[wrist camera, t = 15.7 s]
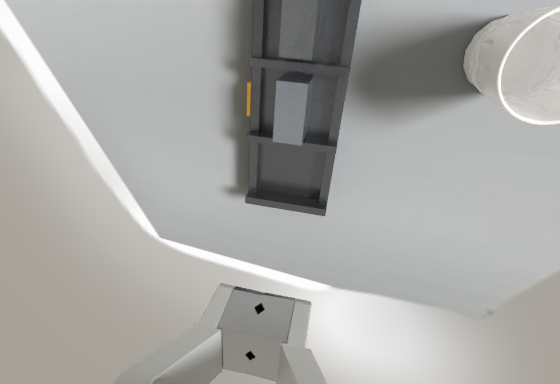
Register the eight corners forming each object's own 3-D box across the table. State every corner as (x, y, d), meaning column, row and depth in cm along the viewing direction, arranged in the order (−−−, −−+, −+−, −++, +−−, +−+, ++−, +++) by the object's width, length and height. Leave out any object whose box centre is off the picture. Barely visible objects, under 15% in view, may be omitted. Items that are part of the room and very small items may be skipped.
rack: (256, -37, 30) (237, -50, 25) (366, -31, 29) (369, -42, 24) (249, 189, 42) (236, 212, 37) (326, 201, 41) (323, 227, 36)
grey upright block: (285, 73, 34) (276, 80, 29) (313, 76, 33) (308, 84, 29) (281, 127, 37) (272, 141, 32) (307, 130, 36) (301, 145, 32)
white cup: (459, 106, 33) (499, 136, 24) (452, 26, 30) (494, 27, 21) (550, 83, 30) (629, 107, 22) (551, -8, 27) (645, -21, 19)
